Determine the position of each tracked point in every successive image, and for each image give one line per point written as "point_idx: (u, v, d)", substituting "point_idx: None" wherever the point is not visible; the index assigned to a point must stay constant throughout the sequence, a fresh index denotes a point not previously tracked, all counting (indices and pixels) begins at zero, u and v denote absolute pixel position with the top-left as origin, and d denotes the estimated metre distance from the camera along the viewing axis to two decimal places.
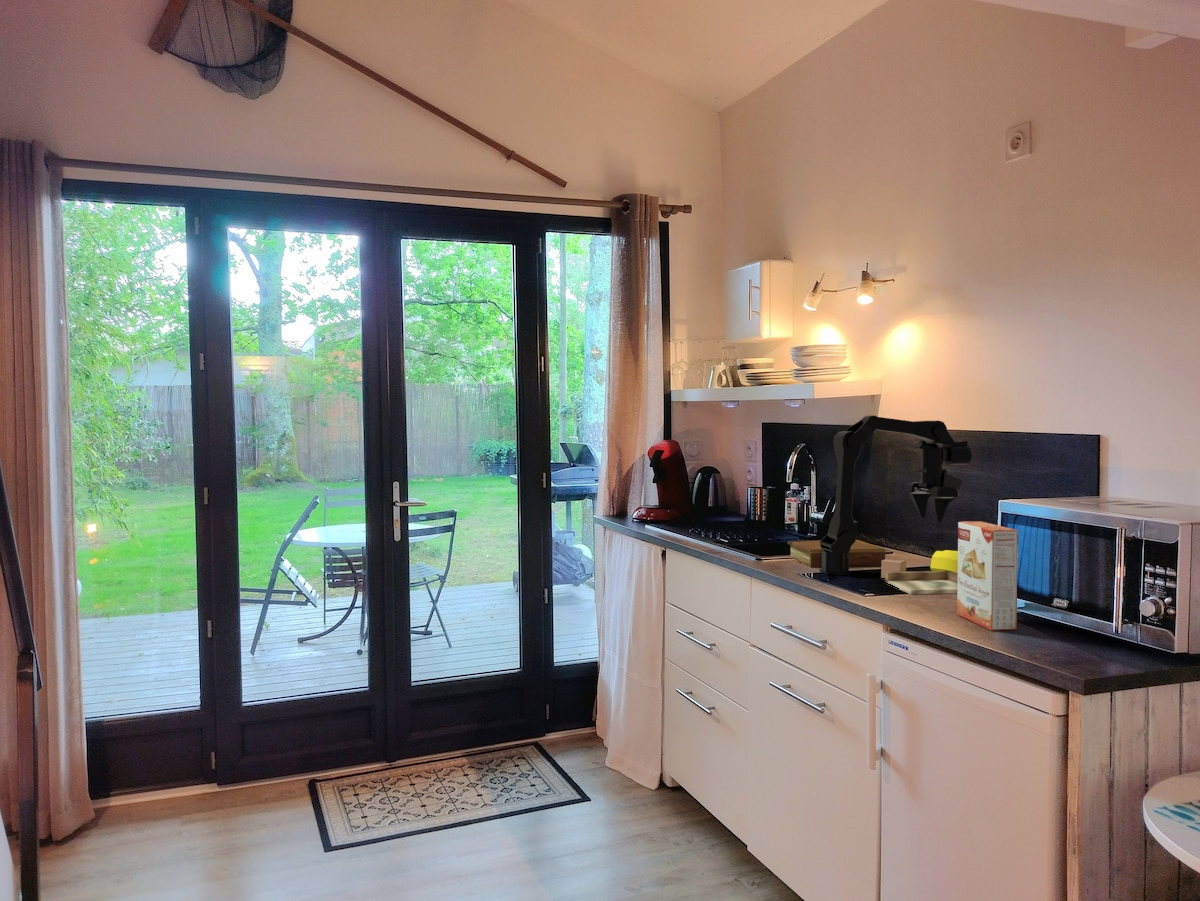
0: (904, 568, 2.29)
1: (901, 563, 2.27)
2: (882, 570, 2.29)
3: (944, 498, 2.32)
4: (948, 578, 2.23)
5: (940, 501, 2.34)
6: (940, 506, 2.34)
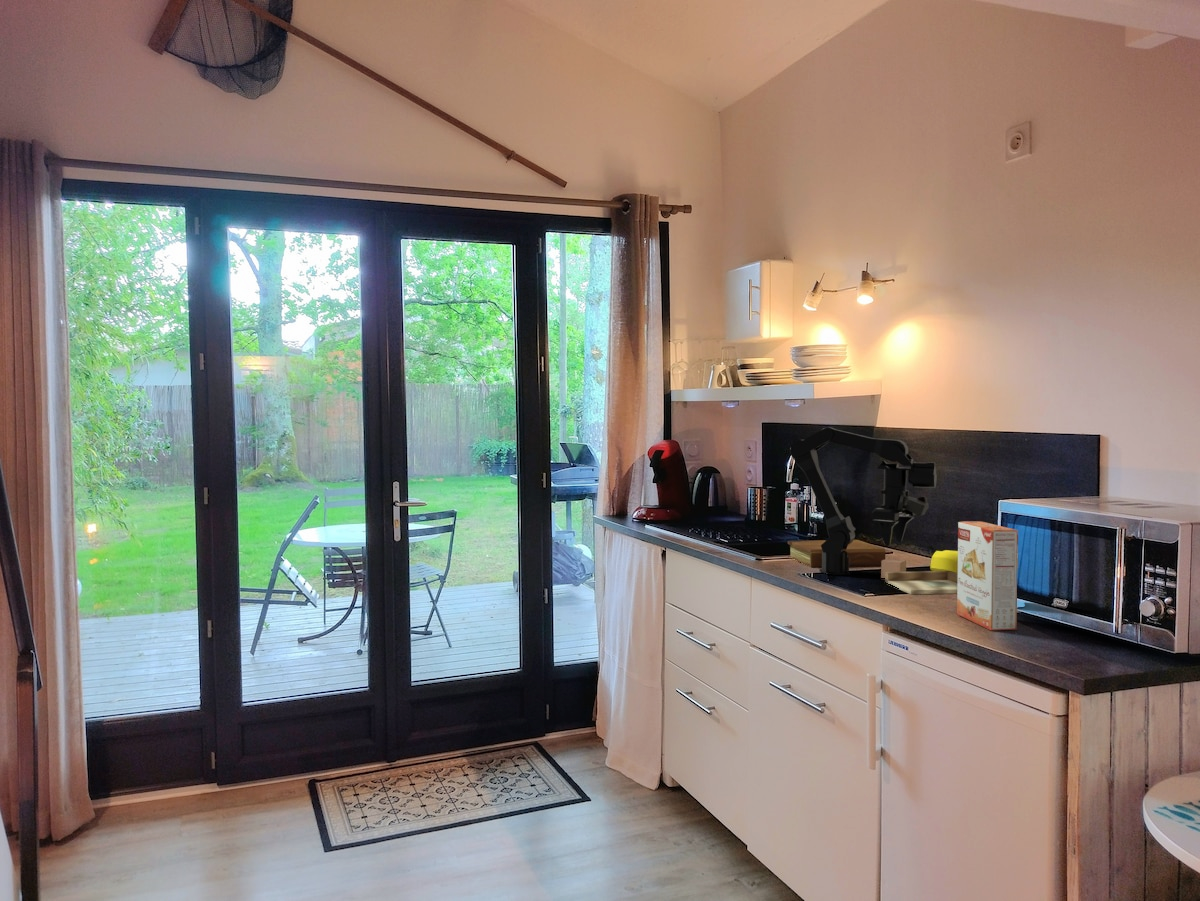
0: (904, 568, 2.29)
1: (901, 563, 2.27)
2: (882, 570, 2.29)
3: (881, 521, 2.23)
4: (948, 578, 2.23)
5: (884, 524, 2.25)
6: (884, 529, 2.25)
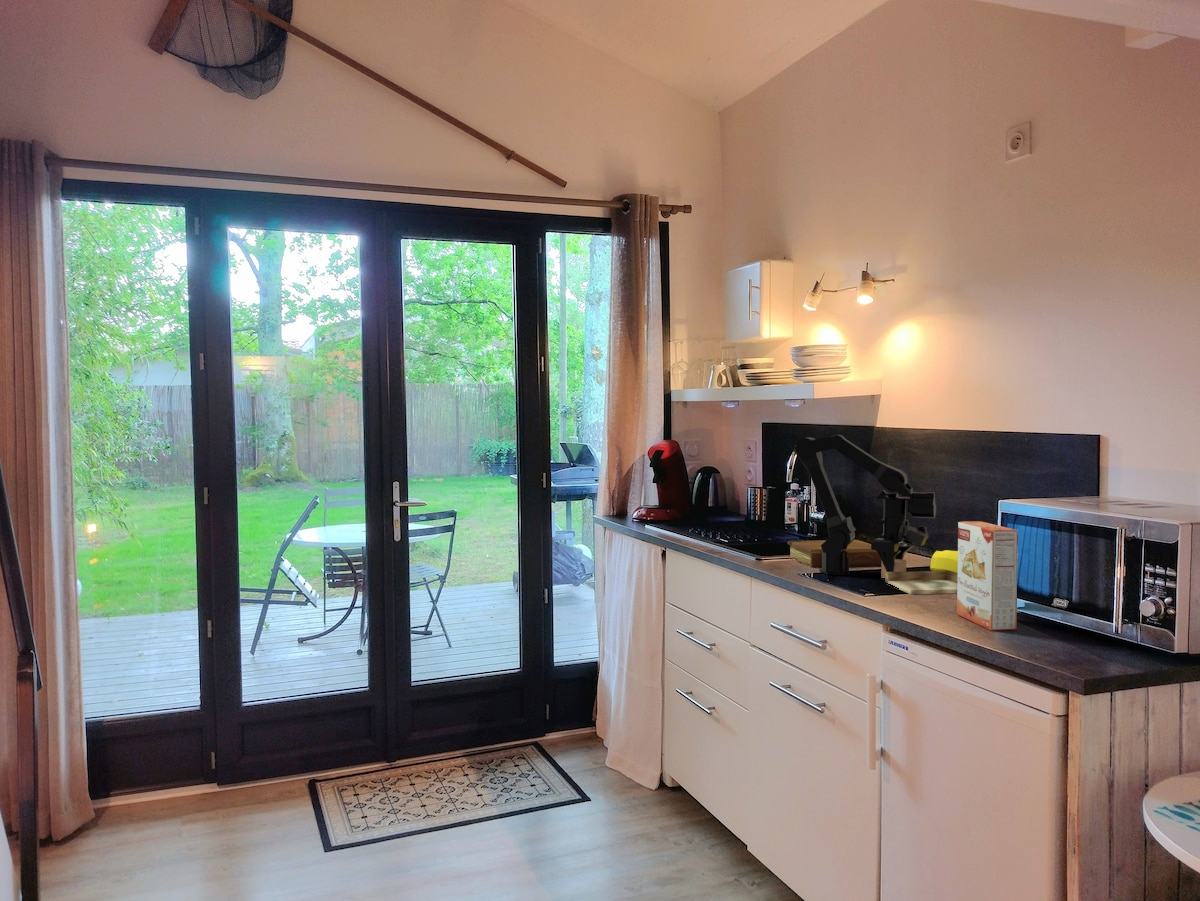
0: (904, 567, 2.29)
1: (901, 563, 2.27)
2: (882, 570, 2.29)
3: (884, 550, 2.25)
4: (948, 578, 2.23)
5: (887, 553, 2.27)
6: (887, 558, 2.27)
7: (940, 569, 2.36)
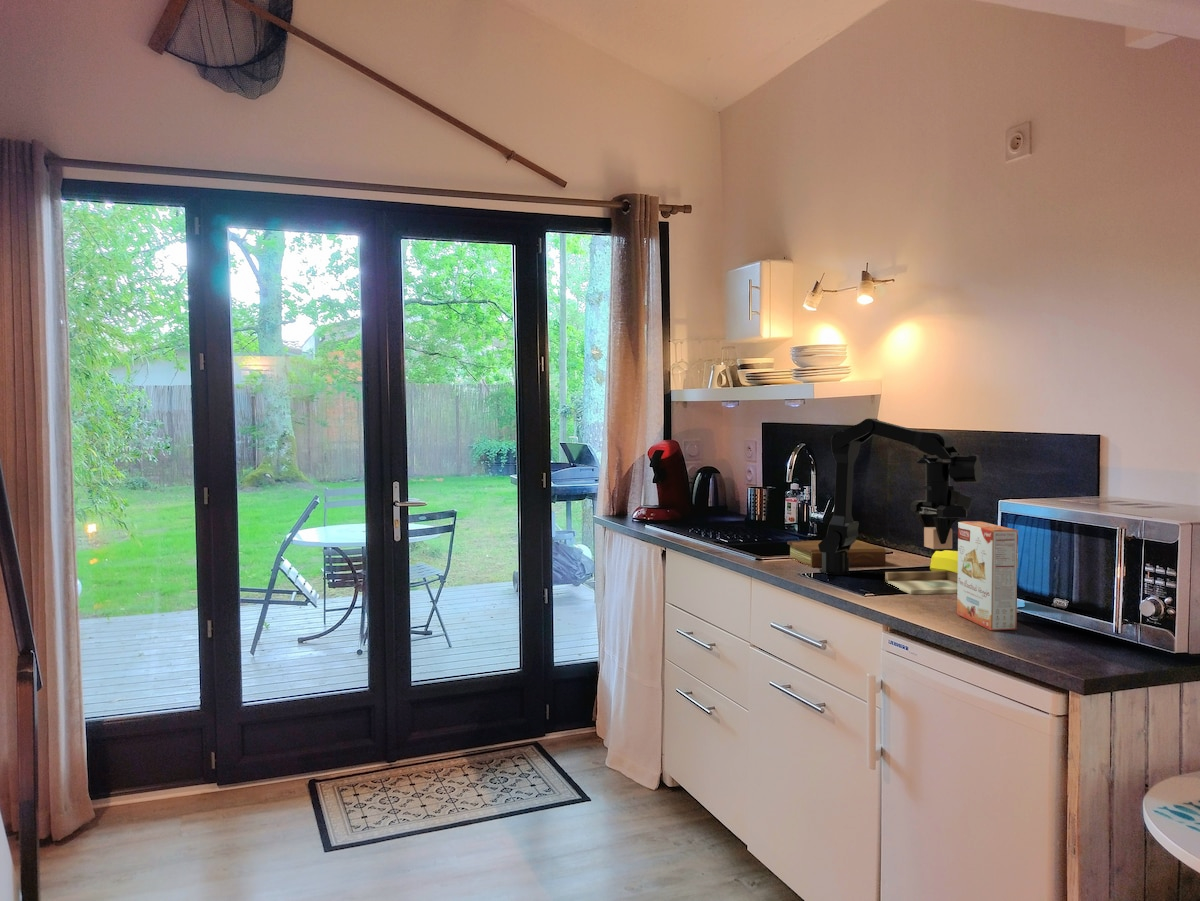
0: None
1: None
2: (934, 539, 2.14)
3: (947, 518, 2.11)
4: (948, 578, 2.23)
5: (943, 521, 2.13)
6: (943, 526, 2.13)
7: (940, 569, 2.36)
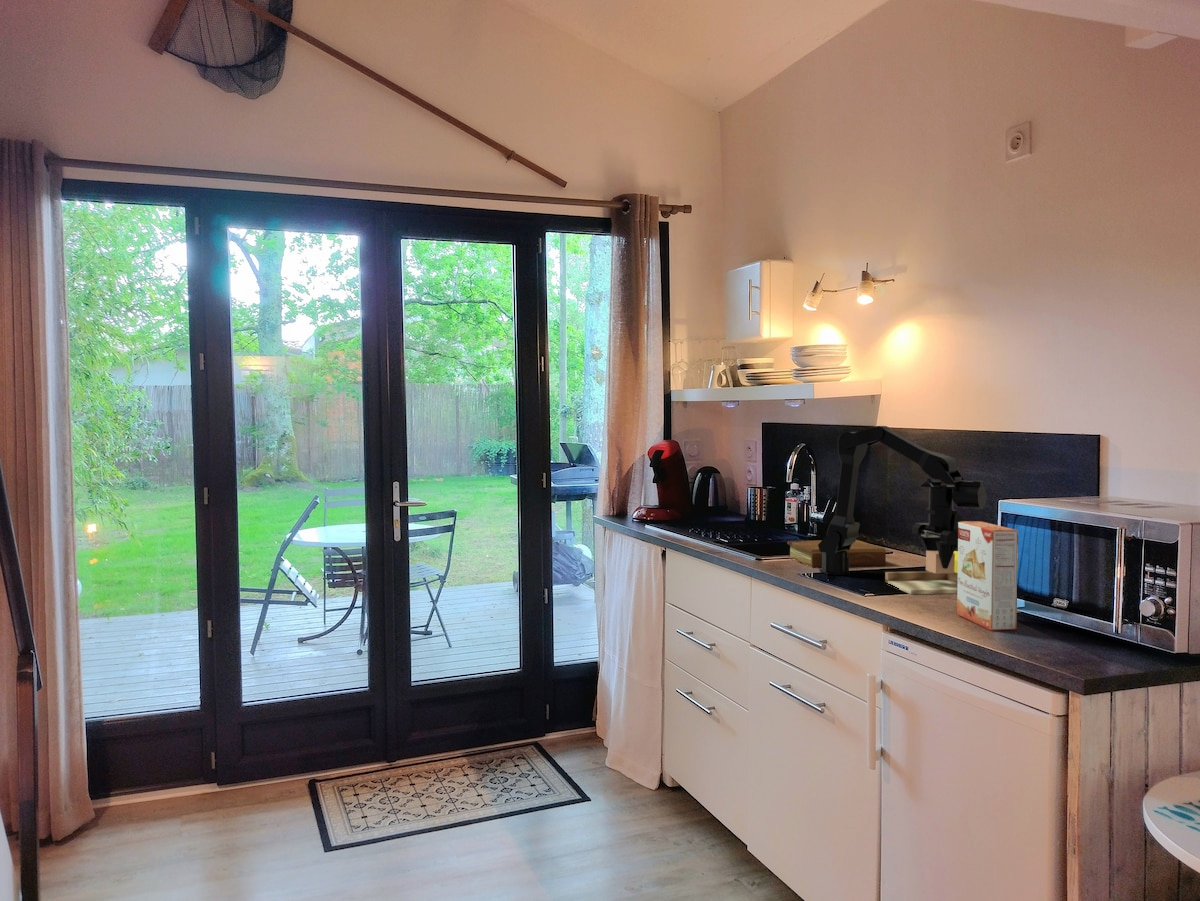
0: None
1: None
2: (937, 564, 2.14)
3: (950, 543, 2.10)
4: (948, 578, 2.23)
5: (946, 546, 2.12)
6: (946, 551, 2.12)
7: None
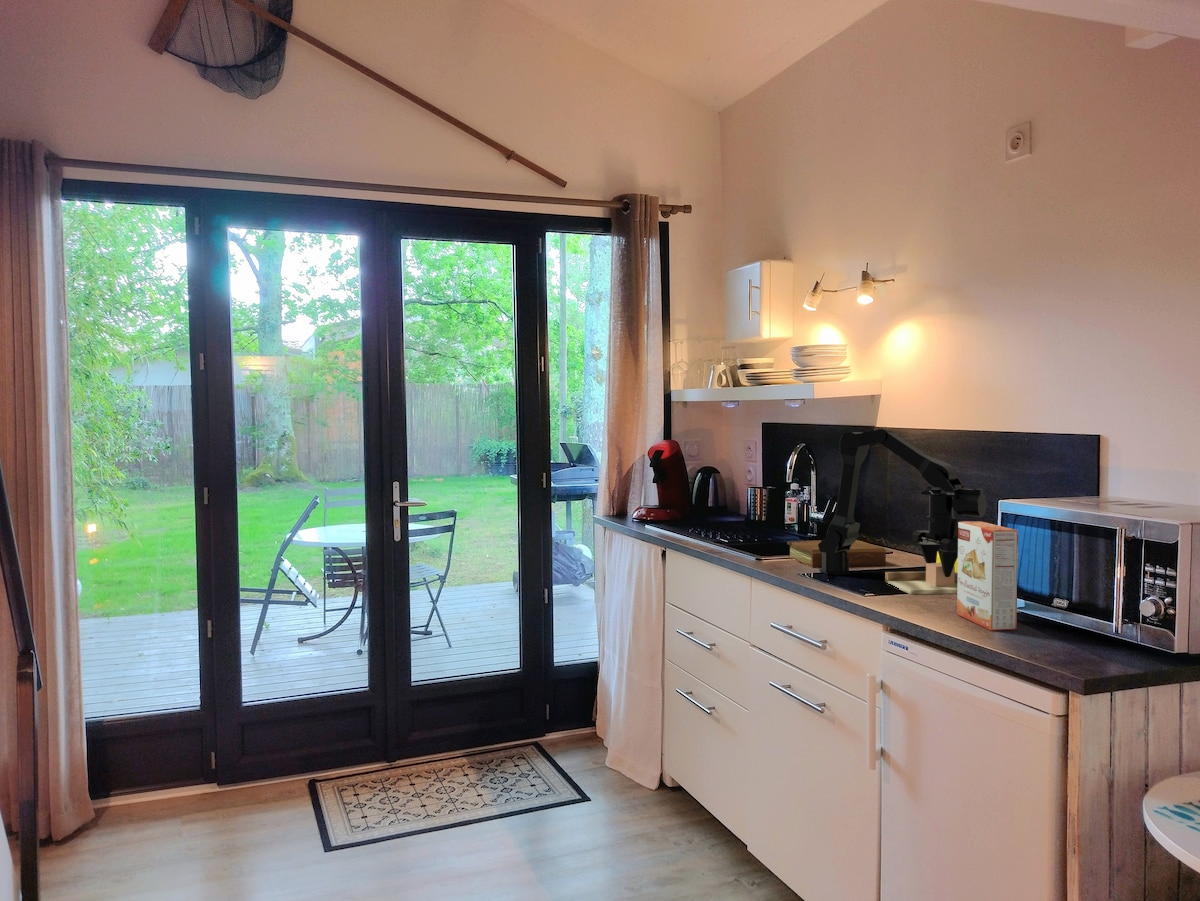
0: None
1: None
2: (937, 576, 2.14)
3: (953, 552, 2.09)
4: None
5: (948, 554, 2.11)
6: (948, 560, 2.11)
7: None
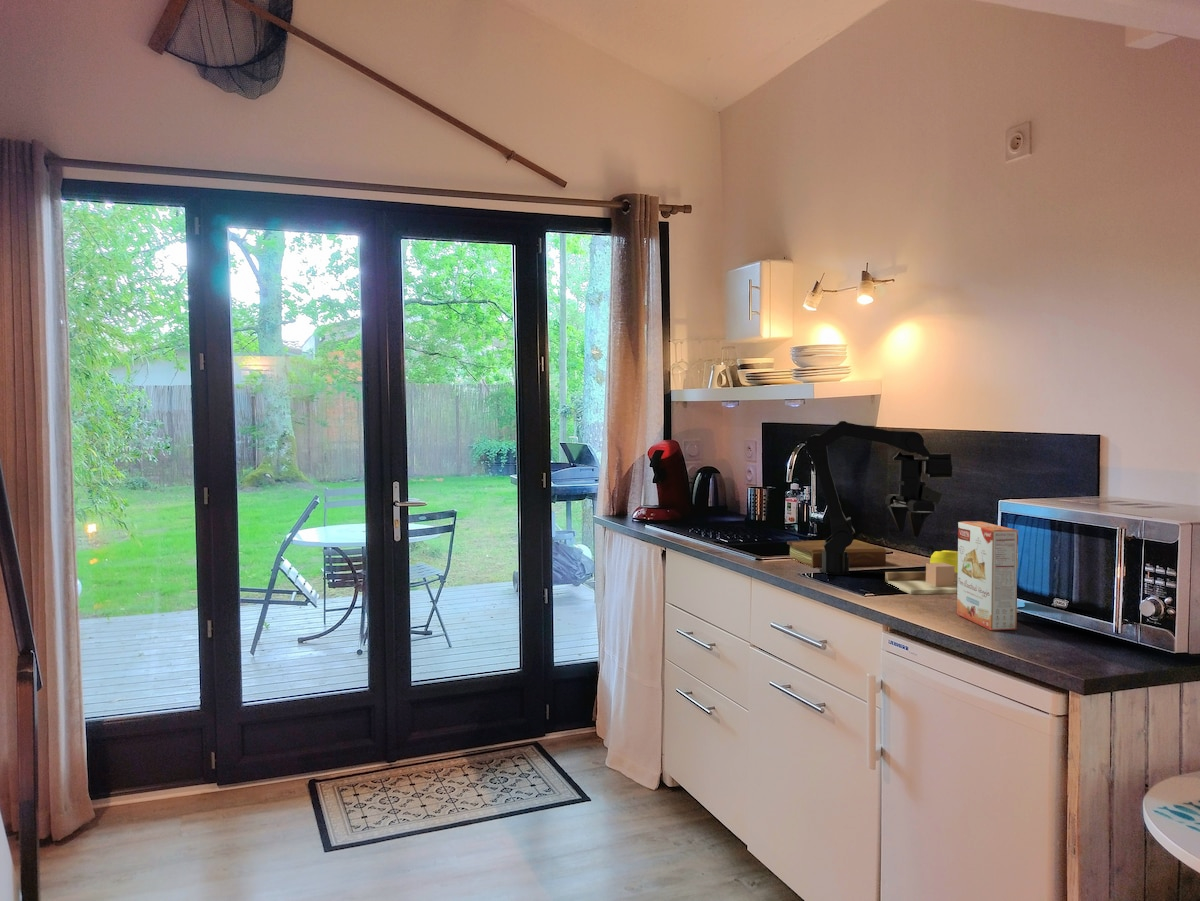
0: None
1: None
2: (937, 576, 2.14)
3: (920, 512, 2.23)
4: None
5: (917, 515, 2.26)
6: (917, 520, 2.26)
7: None
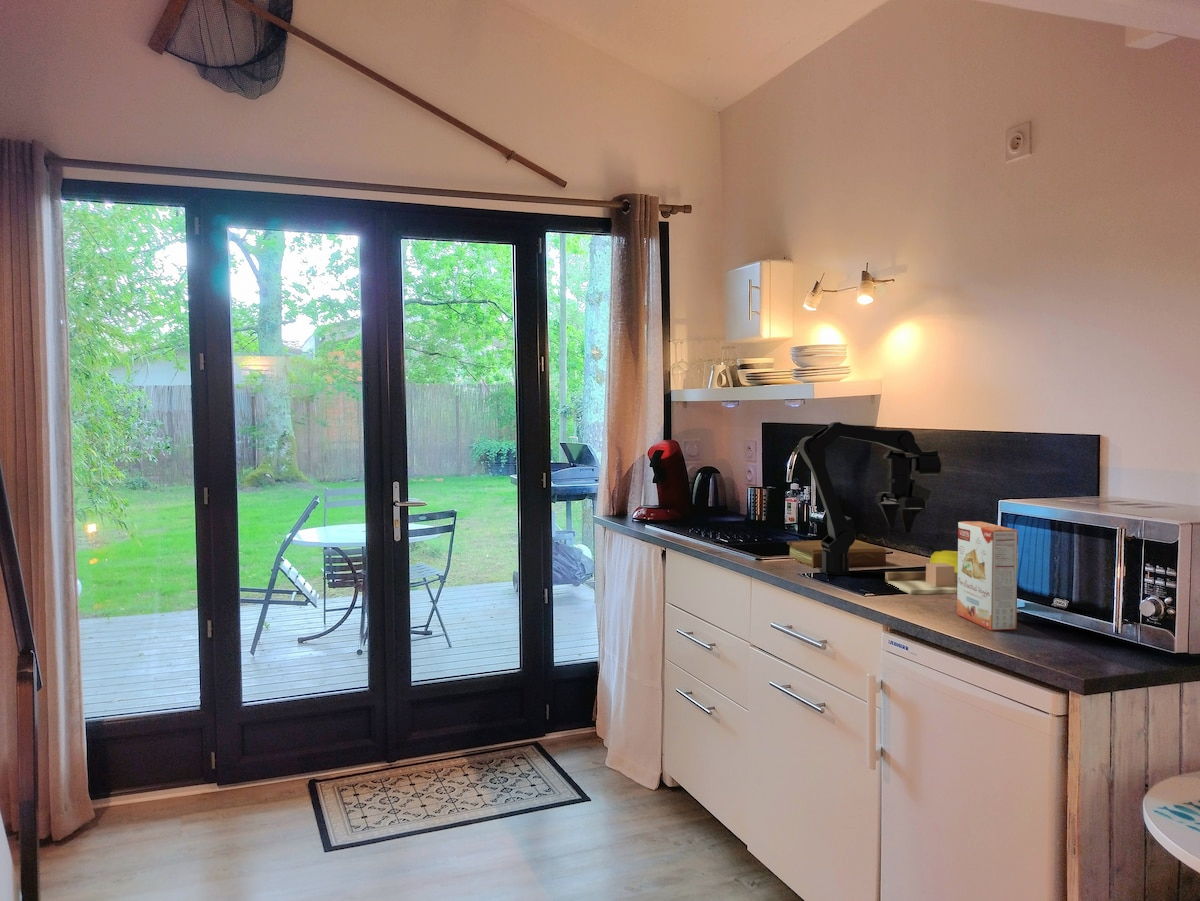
0: None
1: None
2: (937, 576, 2.14)
3: (912, 509, 2.29)
4: None
5: (908, 512, 2.31)
6: (908, 517, 2.31)
7: None
